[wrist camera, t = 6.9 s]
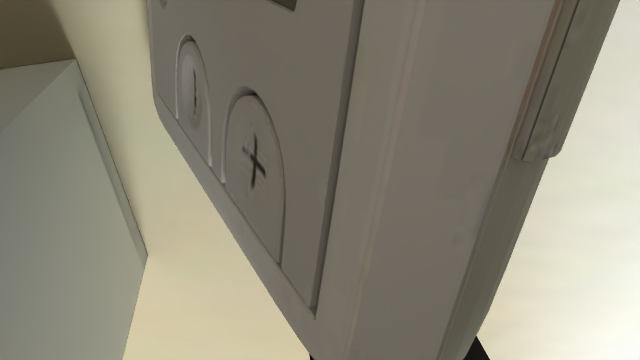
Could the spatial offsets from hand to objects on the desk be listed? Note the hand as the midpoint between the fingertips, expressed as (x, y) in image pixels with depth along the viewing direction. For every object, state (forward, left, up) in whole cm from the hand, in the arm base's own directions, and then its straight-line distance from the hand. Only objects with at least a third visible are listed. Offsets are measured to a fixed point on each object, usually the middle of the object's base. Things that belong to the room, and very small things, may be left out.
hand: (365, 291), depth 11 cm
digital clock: (0, -10, -6) cm, 12 cm away
